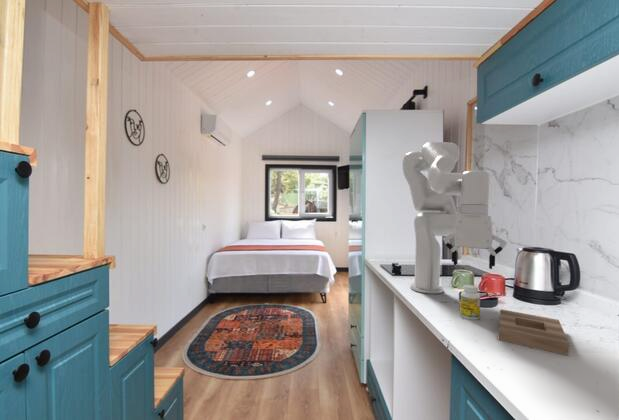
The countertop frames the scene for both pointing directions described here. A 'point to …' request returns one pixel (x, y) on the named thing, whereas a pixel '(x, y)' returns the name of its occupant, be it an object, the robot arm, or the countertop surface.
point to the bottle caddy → (533, 331)
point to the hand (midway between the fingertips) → (472, 266)
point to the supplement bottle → (470, 302)
